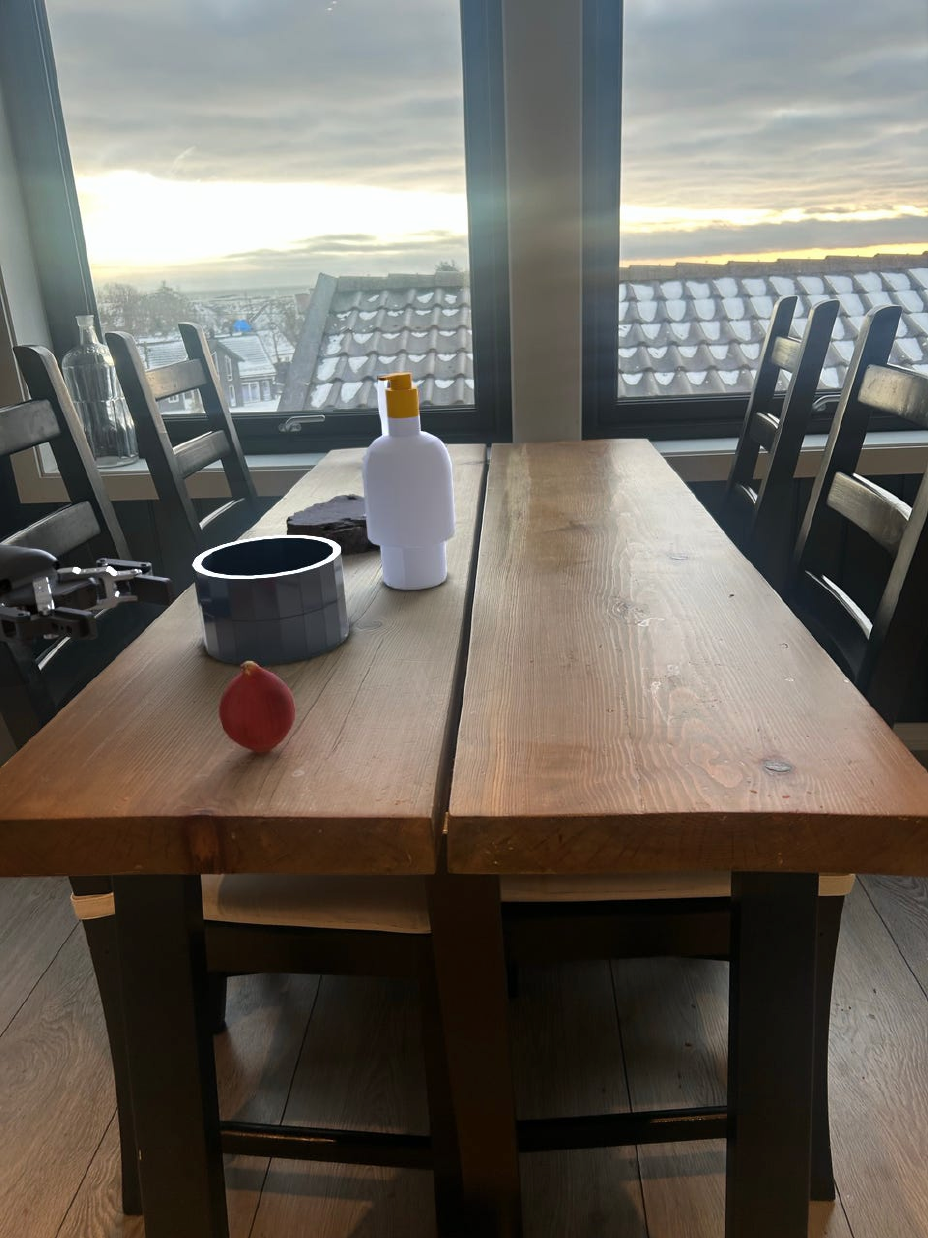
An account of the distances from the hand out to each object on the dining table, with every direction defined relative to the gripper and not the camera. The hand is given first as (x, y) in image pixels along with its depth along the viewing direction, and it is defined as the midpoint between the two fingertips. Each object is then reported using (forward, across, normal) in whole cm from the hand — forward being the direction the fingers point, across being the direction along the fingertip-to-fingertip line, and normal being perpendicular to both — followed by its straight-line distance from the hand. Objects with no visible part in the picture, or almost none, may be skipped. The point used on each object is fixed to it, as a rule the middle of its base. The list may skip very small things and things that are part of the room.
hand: (133, 609), depth 81 cm
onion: (+12, 0, +11) cm, 16 cm away
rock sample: (-16, +54, +12) cm, 58 cm away
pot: (-3, +21, +11) cm, 24 cm away
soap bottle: (+1, +42, +11) cm, 43 cm away
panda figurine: (-41, +106, +12) cm, 114 cm away
